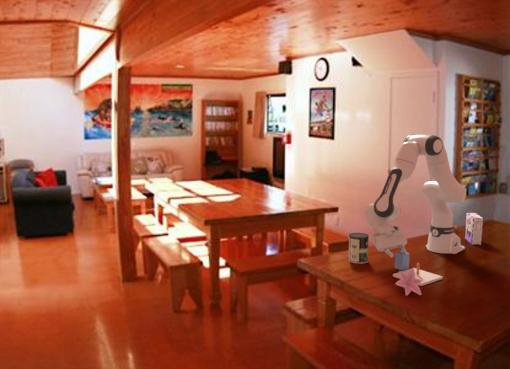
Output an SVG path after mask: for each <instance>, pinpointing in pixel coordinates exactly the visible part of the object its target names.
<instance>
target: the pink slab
mask: <svg viewBox="0 0 510 369" xmlns="http://www.w3.org/2000/svg"><path fill="white" fill-rule="evenodd" d="M420 265H421V264H420V262H417V263H416V267H413V268H414V271H415V278H416V279H420V280H422V282H421V283H420V284H418V286H420V287H423V286H425V285H428V284H432V283H436V282H438V281H440V280H443V276H441V275H439V274H435V273H433V272H429V271H426V270H423V269H421V268H420V267H421V266H420ZM411 269H412V268H409V269H407V270H404V271H402V270H401V272H403V273H405V274H406V275H407V273H408V272H409V271H410V270H411ZM392 277H394V278H396V279H399V280H400V279H402V277H401V275H400V273H399V271H398V272H396V273H393V274H392Z"/></svg>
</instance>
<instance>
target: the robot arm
mask: <svg viewBox="0 0 510 369" xmlns="http://www.w3.org/2000/svg"><path fill="white" fill-rule="evenodd" d="M419 156H425V161H426V165H427V169H428V175H429V177H431V178H432V179H433V180H429V181H426V182H424V183H423V185H422V189H421V193H422V195H423V197H424V198H426V200H427V202H428V204H429V206H430V209H431V210H430V211H431V224H430V226H429V229H430V230H429V231H430V232H429V233H428V239H427V244H425V248H426V249H427V250H428V251H429V252H433V253H437V254H452V255H456V254H458V253H460V252H462V251H464V250H465V249H466V247H465V246H464V245H462V242H461V241H462V240H461V238H460V236H458V235H457V234H456V233H455V231H457V228H458V227H457V226H455V225H453V221H454V217H453V216H454V214H453V211H452V210H451V209H450V208H449V207H448V205H447V204H461V203H463V202H464V201H465V199H466V198H467V191H466V188H465V187H464V186H463V185H462V184H461V183H460V182H458V180H457V179H456V178H455V176H454V174H453V173H452V170H451V167H450V162H449V158H448V153H447V150H446V148H445V145H444V143H443V140H442V138H441V137H439V136H437V135H433V134H432V135H431V134H409V135H407V136H406V137H405V138H404V140H403V142H402V143H401V144H400V147H399V148H398V150H397V152H396V155H395V158H394V161H393V164H392V167H391V170H390V172H389V174H388V176H387V179H386V182H385V184H384V185H383V189H382V191H381V193H380V195H379V197H377V199H376V200H374V203H373V202H372V203H370V204H368V205H367V206H366V207H365V208H364V211H363V215H364V218H365V220H366V222H367V224H368V225H369V226H370V227H371V228H372V231H373V233H374V234H372V235H371V239H372V242H373V245H374V247H375V248H376V250H377V252H379V253H381V252H384V253H385V254H386V255H388V256H389V257H390V258H393V257H395V254H394V252H391V250H392V249H396V248H399V249H401V250H403V251H406V252H407V250H406V248H405V246H406V245H407V244H408V239H407V237H406V236H405V235H404V233H403V232H402V231H400V230H401V229H400V227H399V226H397V225H392V224H390V223H389V222H391V221H393V220H395V219H397V218H398V217H400V215H401V213H402V212H401V210H402V209H401V207H400V205H399V203H397V202H395V201H394V198H395V195H396V192H397V191H398V188H399V185H400V184H401V183H402V182H403V181H405V180H408V179H410V178H412V175H413V174H414V172H415V169H416V166H417V162H418V158H419Z"/></svg>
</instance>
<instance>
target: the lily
mask: <svg viewBox="0 0 510 369" xmlns="http://www.w3.org/2000/svg"><path fill="white" fill-rule="evenodd" d="M414 268H415V267H412V268H410V269H411V270H410V271H409V272H408V273H407V275H406V274H405V273H403V272H402V270H399V271H398V272H399V273H400V275H401V277H402V279H399V280H397V281H396V282H395V285H396V286H399V287H402V289H403V290H404V292H405V293H404V294H405V296H406V297H408V296H409V294H410V293H411V292H414V293H415V294H417V295H419V296H422V291H421V288H420V287H419V285H418V284H420V283H421V282H422V280H420V279H416V278H415V271H414Z"/></svg>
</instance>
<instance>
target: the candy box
mask: <svg viewBox="0 0 510 369" xmlns="http://www.w3.org/2000/svg"><path fill="white" fill-rule="evenodd" d="M483 223H484V217H482V216H481V215H479V214H478V213H476V212H466V215H465V236H464V239H465V240H466V241H467V242H468V243H469V244H470V245H472V246H474V245H476V246H482V238H483V226H484V224H483Z"/></svg>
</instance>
